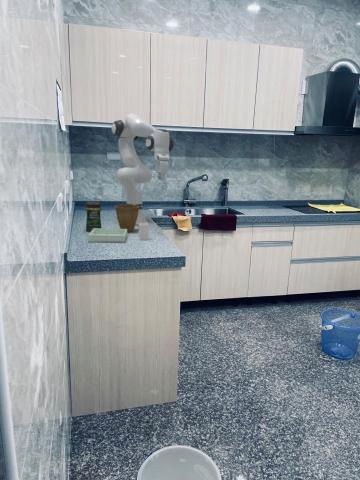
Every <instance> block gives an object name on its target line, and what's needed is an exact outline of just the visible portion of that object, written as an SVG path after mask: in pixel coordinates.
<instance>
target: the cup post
mask: <svg viewBox="0 0 360 480" xmlns="http://www.w3.org/2000/svg"><path fill="white" fill-rule="evenodd" d="M149 229H150V228H149V222H148V223H139V225H138V240H139V241H148V240H149V234H150V233H149Z"/></svg>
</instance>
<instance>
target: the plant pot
mask: <svg viewBox="0 0 360 480" xmlns="http://www.w3.org/2000/svg"><path fill="white" fill-rule="evenodd" d="M114 208H115V213H116V218H117V222H118V225H119V229H127V233H130V232H131V233H132V232H134V229H135V226H136V225H135V224H136V221H137V217H138V211H139V206H135V205H126V204H119V205H115V207H114Z"/></svg>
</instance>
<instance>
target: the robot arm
mask: <svg viewBox="0 0 360 480" xmlns="http://www.w3.org/2000/svg"><path fill="white" fill-rule="evenodd" d="M111 133H112V135H113V136H114V137H117V138H118V140H117V141H118V145H117V146H118V150H119V151H118V152H119V155H120V158H121V162H122V164H123V165H124V166H126V167H122V168H119V169H117V172H116V179H117V181H118V182H119V184H121V185H122V186H123V188H124V190H125V194H126V196H125V198H126V203H125V205H135V206H139V211H138V217H137V221H136V224H135V226H137V225H138V226H139V223H148V224H149V222H148V221H147V220H146V211H145V210H144V204H143V192H142V191H141V189H139V188H137V187H136V184H146V183H150V182H151V180H152V177H153V174H152V171H151V169H149V168H148V167H146V166H145V165H144V164H143V163H142V161H141V160H140V158H139V157H138V154H137V150H136V148H135V145H134V141H137V140H138V139H139V138H140V137H141V138H145V142H144V144H145V146H144V147H146V149H147V151H150V152H154V155H153V156H154V157H153V158H154V160H155V161H156V162H155V172H157V179H158V180H159V181H161V182H165V179H166V174H168V173H169V161H170V160H171V157H170V152H172V150H173V149H174V147H175V141H174V138H173V137H172V136H171V135H170V132H169V130H167V129H166V128H157V127H155V126H153V125H151V124H150V123H149V122H147V121H146V120H144V119H143V118H142V117H141V116H140V115H138V114H136V113H133V112H131V113H129V114H127V116H126V117H125V120H122V119H119V120H115V121H113V122H112V125H111Z"/></svg>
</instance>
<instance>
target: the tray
mask: <svg viewBox="0 0 360 480" xmlns="http://www.w3.org/2000/svg"><path fill="white" fill-rule="evenodd" d="M89 232H90V233H88V234H87V238H88V241H87V242H88V243H113V244H115V243H117V244H123V243H124V244H125V243H126V240H127V237H128V232H127V229H121V228H101V229H99V228H94V229H93V230H92V231H89ZM106 234H108V235H106Z"/></svg>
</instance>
